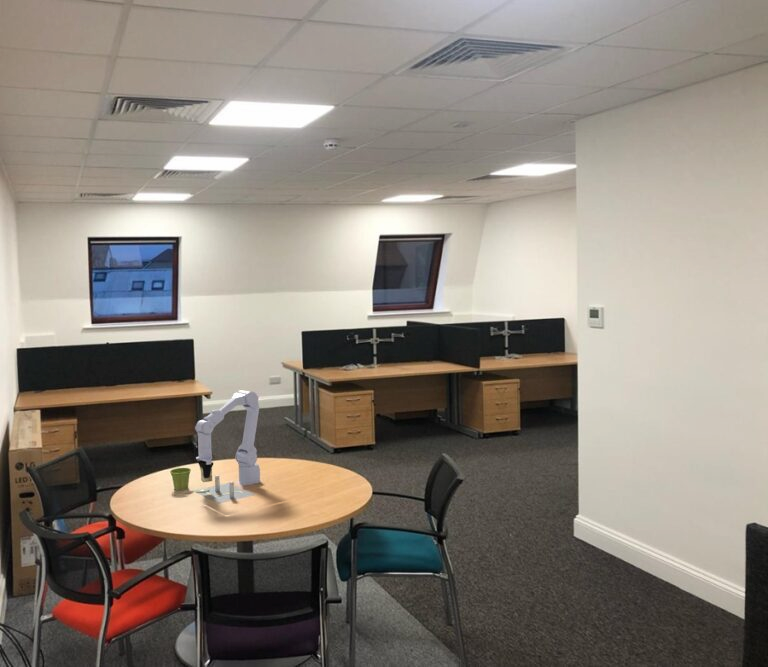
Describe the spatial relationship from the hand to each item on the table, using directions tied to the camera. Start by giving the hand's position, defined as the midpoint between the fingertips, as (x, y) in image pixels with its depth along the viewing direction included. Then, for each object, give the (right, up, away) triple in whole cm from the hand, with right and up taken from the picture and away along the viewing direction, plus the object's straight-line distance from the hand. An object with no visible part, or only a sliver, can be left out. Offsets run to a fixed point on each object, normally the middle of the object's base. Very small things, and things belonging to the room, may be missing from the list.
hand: (205, 476), depth 327 cm
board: (+8, -8, 0) cm, 11 cm away
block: (0, -2, 0) cm, 2 cm away
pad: (-2, -8, +3) cm, 9 cm away
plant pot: (-14, -8, +9) cm, 18 cm away
